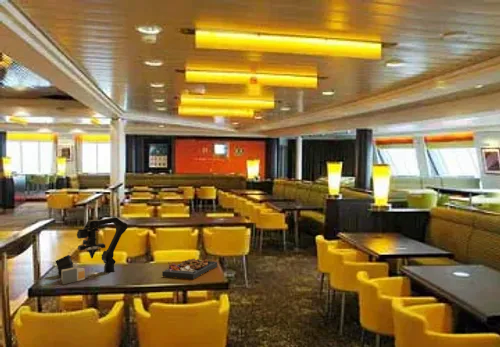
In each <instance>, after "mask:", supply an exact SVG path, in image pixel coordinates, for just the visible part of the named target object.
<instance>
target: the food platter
mask: <svg viewBox="0 0 500 347" xmlns="http://www.w3.org/2000/svg"><path fill="white" fill-rule="evenodd" d="M167 263H168V268H166V269H165V270H163V271H162V274H161V275H162V276H166V277H165V278H170V277H177V278H176V279H181V278H188V279H187V280H195V279H197V278H199V277H201V276H202V275H201V274H203V273H205V272H207V271H208V272H210V271H212V270H214V269H216V268H218V261H214V260H213V261H210V260H208V259H204V260H200V258H199V259H196V258H194V257H193V258H191V259H190V258H188V259H185V260H182V262H181V263H180V264H179V263H178V264H175V263H171V264H170V263H169V262H167ZM213 268H214V269H213ZM211 269H212V270H211ZM209 270H210V271H209ZM208 272H207V273H208ZM205 274H206V273H205ZM200 275H201V276H200ZM203 275H204V274H203ZM198 276H199V277H198ZM196 277H197V278H196ZM194 278H195V279H194Z"/></svg>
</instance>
